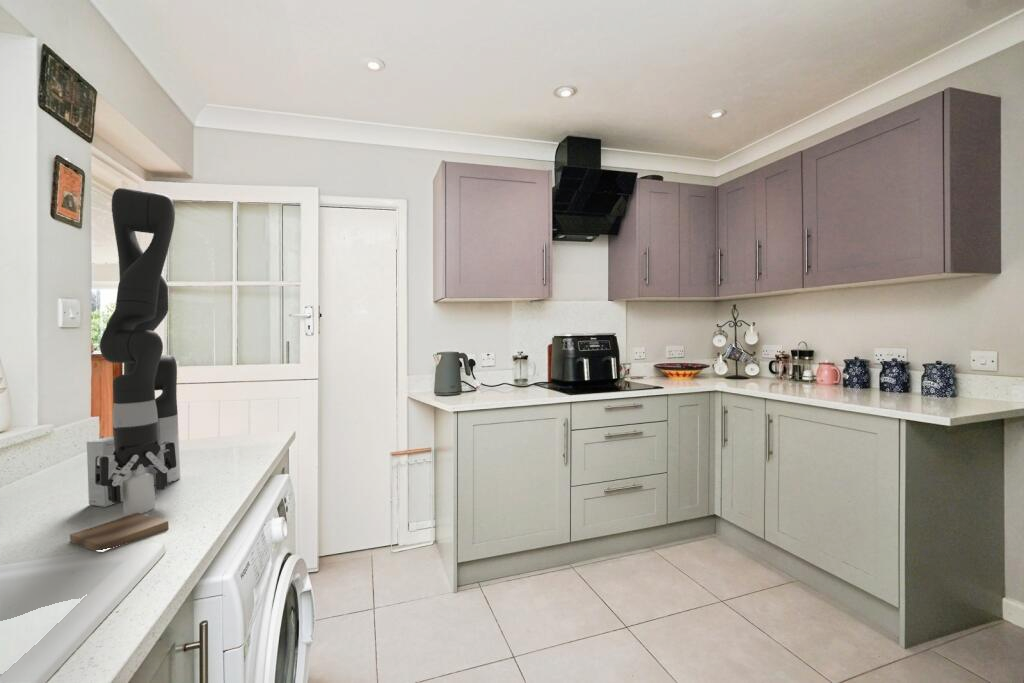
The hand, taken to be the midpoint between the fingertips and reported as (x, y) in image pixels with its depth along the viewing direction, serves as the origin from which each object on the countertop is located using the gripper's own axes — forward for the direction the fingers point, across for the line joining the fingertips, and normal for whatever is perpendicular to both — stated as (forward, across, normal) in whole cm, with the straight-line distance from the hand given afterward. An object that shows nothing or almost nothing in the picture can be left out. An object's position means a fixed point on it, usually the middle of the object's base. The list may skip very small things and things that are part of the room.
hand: (139, 495), depth 101 cm
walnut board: (+4, +8, +10) cm, 13 cm away
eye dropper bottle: (+4, 0, 0) cm, 4 cm away
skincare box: (+4, -2, -14) cm, 15 cm away
